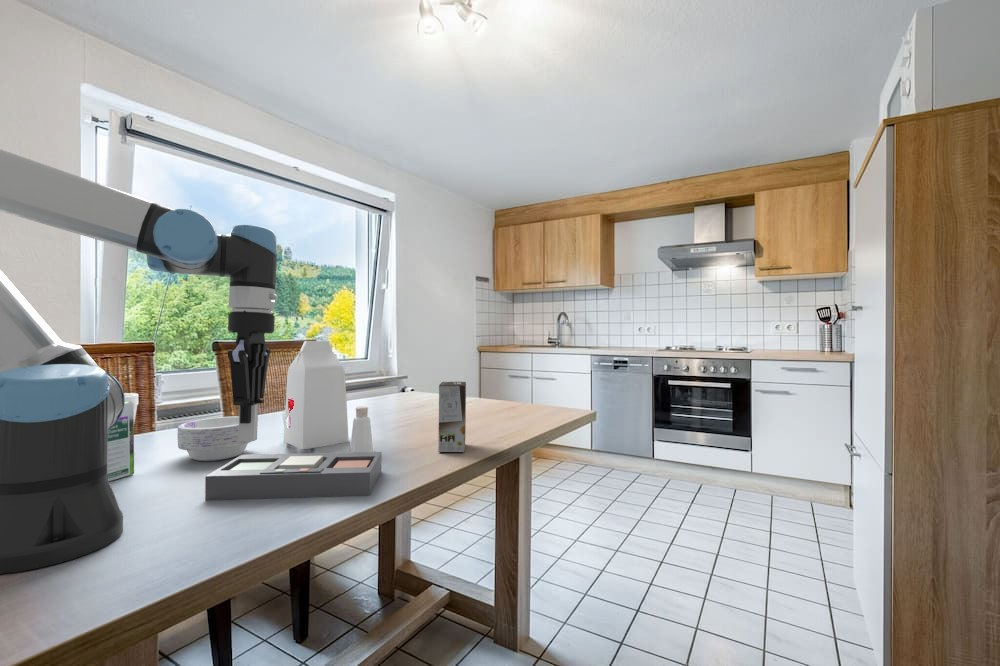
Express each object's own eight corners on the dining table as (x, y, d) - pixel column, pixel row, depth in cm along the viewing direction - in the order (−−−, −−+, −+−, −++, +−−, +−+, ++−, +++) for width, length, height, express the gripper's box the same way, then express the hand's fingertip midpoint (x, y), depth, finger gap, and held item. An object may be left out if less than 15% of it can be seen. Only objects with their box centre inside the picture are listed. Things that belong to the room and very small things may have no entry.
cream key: (313, 476, 85) (314, 464, 85) (279, 477, 84) (279, 465, 84) (322, 467, 90) (322, 455, 90) (290, 467, 90) (290, 456, 90)
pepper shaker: (344, 456, 107) (344, 408, 107) (358, 450, 112) (358, 404, 112) (365, 458, 105) (365, 409, 105) (378, 452, 111) (378, 405, 111)
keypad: (369, 495, 82) (369, 470, 82) (205, 500, 79) (205, 474, 79) (381, 471, 96) (381, 450, 96) (241, 474, 93) (242, 453, 93)
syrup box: (105, 483, 87) (105, 405, 87) (79, 481, 88) (79, 404, 88) (134, 474, 92) (135, 400, 92) (110, 472, 94) (110, 399, 93)
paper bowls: (171, 455, 107) (172, 420, 107) (245, 444, 117) (245, 413, 117) (183, 470, 96) (184, 431, 96) (264, 457, 106) (264, 422, 106)
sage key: (261, 483, 84) (261, 471, 84) (226, 484, 83) (226, 472, 83) (274, 473, 90) (274, 462, 90) (241, 474, 89) (241, 462, 89)
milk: (302, 449, 113) (303, 341, 113) (283, 441, 121) (284, 340, 121) (348, 441, 122) (349, 341, 122) (328, 434, 130) (328, 340, 130)
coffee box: (465, 453, 111) (465, 385, 111) (437, 453, 110) (438, 385, 110) (465, 444, 120) (466, 381, 120) (440, 444, 119) (440, 381, 119)
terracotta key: (365, 481, 85) (365, 469, 85) (331, 481, 85) (331, 469, 85) (370, 471, 91) (370, 460, 91) (338, 472, 91) (338, 460, 91)
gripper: (259, 310, 80) (254, 448, 80) (285, 314, 93) (281, 433, 93) (212, 308, 79) (207, 448, 79) (246, 312, 92) (241, 432, 92)
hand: (247, 440), depth 86 cm, fingers closed
